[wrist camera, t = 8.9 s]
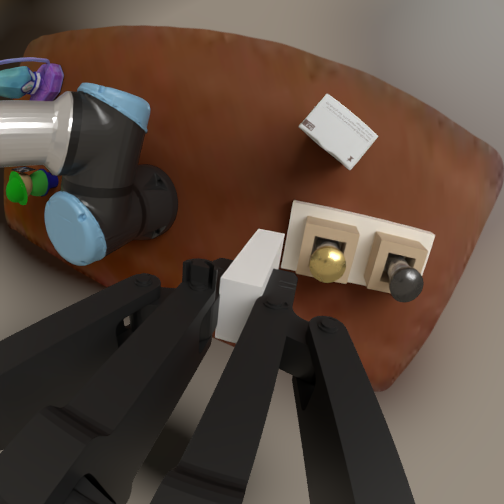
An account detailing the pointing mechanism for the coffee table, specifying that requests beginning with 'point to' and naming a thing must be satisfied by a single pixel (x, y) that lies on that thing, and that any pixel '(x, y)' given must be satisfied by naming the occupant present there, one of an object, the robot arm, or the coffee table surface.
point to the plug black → (402, 278)
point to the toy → (29, 184)
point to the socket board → (351, 219)
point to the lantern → (31, 80)
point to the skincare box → (338, 131)
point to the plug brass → (327, 261)
